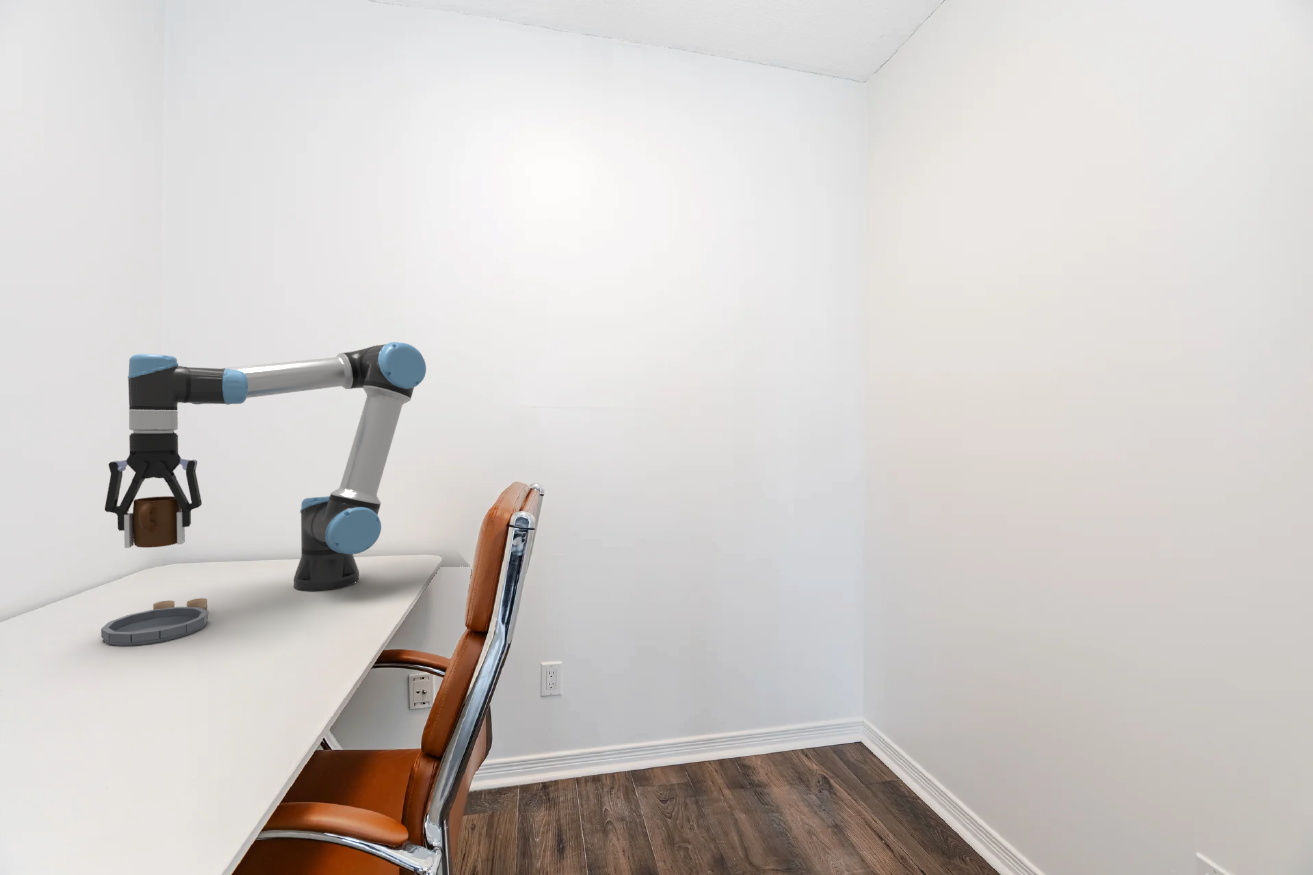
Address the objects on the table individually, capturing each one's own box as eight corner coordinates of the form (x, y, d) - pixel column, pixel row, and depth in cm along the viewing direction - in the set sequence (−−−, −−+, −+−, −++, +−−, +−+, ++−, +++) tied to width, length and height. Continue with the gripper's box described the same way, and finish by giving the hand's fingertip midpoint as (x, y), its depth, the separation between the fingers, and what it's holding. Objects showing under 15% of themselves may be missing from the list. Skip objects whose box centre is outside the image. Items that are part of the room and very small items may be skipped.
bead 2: (208, 610, 136) (208, 597, 136) (205, 615, 133) (205, 602, 133) (189, 612, 134) (188, 599, 134) (185, 617, 131) (185, 604, 131)
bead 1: (176, 613, 134) (176, 599, 134) (172, 617, 131) (172, 604, 131) (156, 615, 133) (155, 601, 132) (151, 620, 129) (151, 606, 129)
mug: (167, 551, 118) (167, 503, 118) (118, 554, 115) (117, 505, 115) (186, 539, 129) (185, 495, 129) (141, 541, 126) (140, 496, 125)
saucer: (213, 613, 134) (213, 602, 134) (198, 638, 120) (197, 626, 119) (118, 624, 126) (118, 613, 126) (89, 651, 112) (89, 639, 112)
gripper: (219, 431, 130) (220, 537, 130) (93, 431, 120) (95, 545, 121) (212, 432, 123) (214, 544, 124) (79, 432, 113) (81, 553, 114)
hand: (155, 544), depth 122 cm, fingers closed on mug, 8 cm apart
